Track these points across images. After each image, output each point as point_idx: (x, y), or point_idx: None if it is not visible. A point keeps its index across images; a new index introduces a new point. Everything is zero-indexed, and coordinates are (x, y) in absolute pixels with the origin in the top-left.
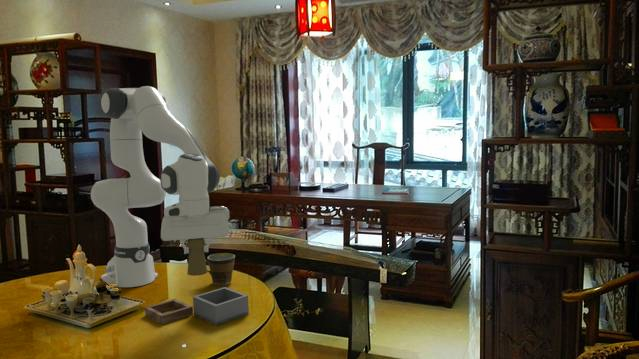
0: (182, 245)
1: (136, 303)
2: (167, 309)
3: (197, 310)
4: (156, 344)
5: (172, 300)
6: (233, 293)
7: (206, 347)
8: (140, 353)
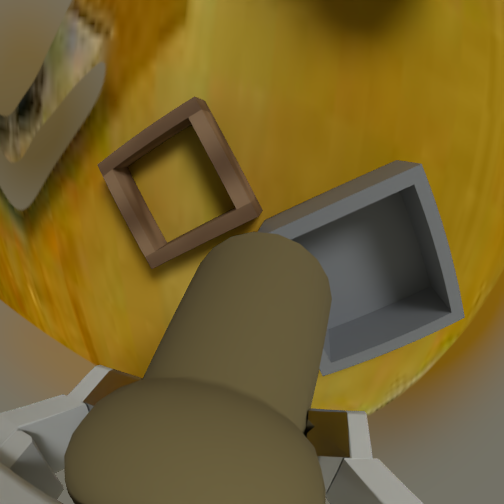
0: (58, 458)
1: (92, 51)
2: (175, 133)
3: None
4: None
5: (184, 115)
6: (433, 248)
7: None
8: None
